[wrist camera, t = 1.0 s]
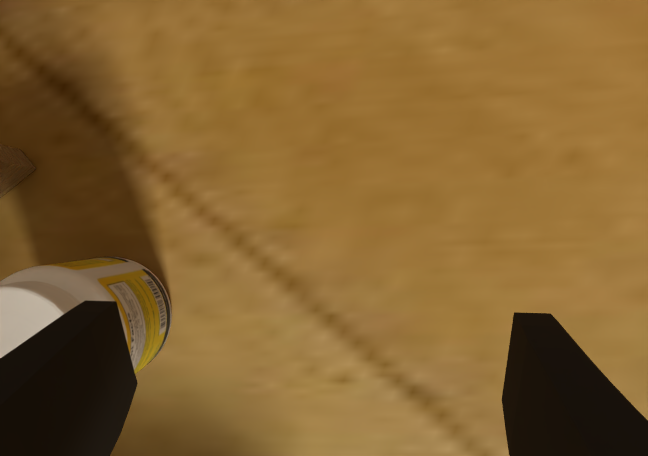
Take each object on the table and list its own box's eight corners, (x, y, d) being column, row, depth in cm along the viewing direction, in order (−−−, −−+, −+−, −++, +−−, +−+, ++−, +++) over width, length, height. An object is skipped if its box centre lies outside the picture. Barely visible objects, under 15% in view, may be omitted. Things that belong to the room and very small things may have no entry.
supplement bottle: (34, 336, 25) (-120, 391, 16) (93, 234, 25) (-29, 236, 16) (137, 396, 24) (37, 483, 16) (196, 294, 24) (127, 328, 16)
